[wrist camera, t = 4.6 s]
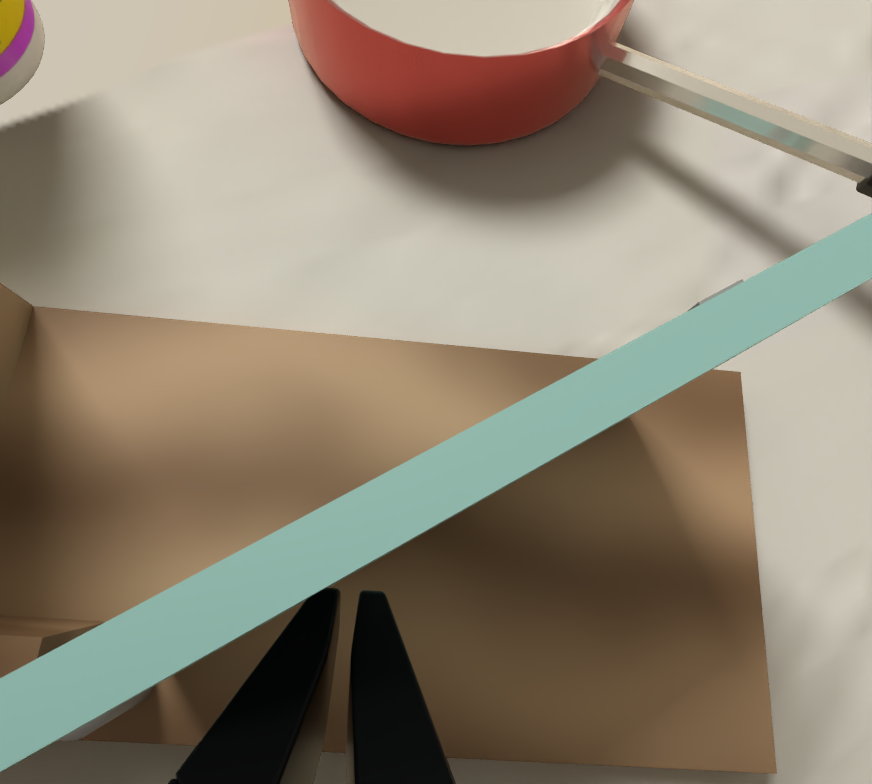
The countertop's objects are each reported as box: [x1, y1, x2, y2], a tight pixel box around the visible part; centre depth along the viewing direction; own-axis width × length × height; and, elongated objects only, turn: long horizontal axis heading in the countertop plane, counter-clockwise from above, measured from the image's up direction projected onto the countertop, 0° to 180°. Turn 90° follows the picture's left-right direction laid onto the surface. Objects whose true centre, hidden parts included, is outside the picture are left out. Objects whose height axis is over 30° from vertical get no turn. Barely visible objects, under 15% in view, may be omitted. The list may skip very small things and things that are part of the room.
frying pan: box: [288, 0, 872, 197], centre depth 20 cm, size 32×13×6 cm, turn 60°
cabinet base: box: [0, 283, 777, 774], centre depth 12 cm, size 12×24×12 cm, turn 86°
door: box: [0, 213, 872, 772], centre depth 11 cm, size 1×17×10 cm, turn 119°
